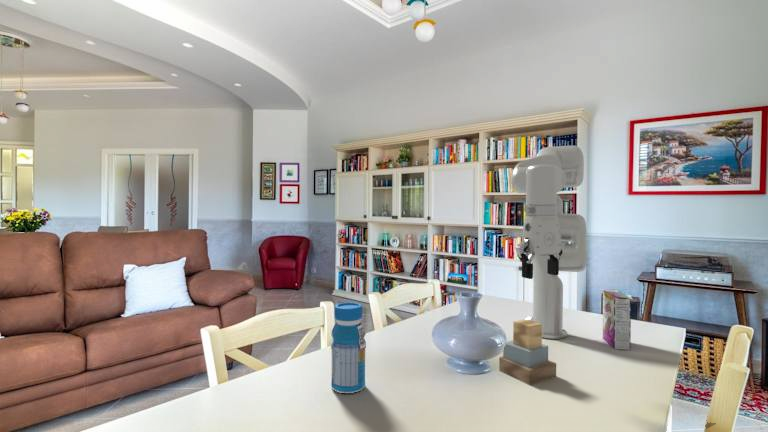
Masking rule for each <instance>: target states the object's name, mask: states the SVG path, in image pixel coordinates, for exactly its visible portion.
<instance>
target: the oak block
mask: <svg viewBox="0 0 768 432" xmlns="http://www.w3.org/2000/svg"><path fill="white" fill-rule="evenodd" d="M512 323H513V330H512V331H513V337H512V338H513V339H512V341H513V344H514V345H517V346H520V347H522V348H525V349H528V350H530V349H534V348H538V347H542V344H543V343H542V341H543V338H542V324H541V323H538V322H535V321H531V320H528V319H526V318H525V319H520V320H513V322H512Z"/></svg>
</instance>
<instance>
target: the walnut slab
mask: <svg viewBox="0 0 768 432" xmlns="http://www.w3.org/2000/svg"><path fill="white" fill-rule="evenodd" d="M498 365H499V367H498V368H499V369H498V372H501V373H503V374H505V375H507V376H510V377H511V378H513V379H515V380H518V381H519V382H522V383H524V384H527V386H531V385H534V384H537V383H541V382H543V381H547V380H550V379H553V378H556V377H557V362H554V361H553V360H550V359H548V361H547V362H544V363H541V364H538V365H535V366H532V367H529V368H528V367H526V366H523V365H520V364H518V363H515V362H513V361H510V360H507V359H505V358H503V356H500V357H499V361H498Z"/></svg>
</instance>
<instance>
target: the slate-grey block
mask: <svg viewBox="0 0 768 432" xmlns="http://www.w3.org/2000/svg"><path fill="white" fill-rule="evenodd" d="M502 353H503V354H502V355H503V356H502V357H503V358H505V359H507V360H510V361H513V362H515V363H518V364H520V365H523V366H526V367H528V368H529V367H532V366H535V365H538V364H541V363H544V362H547V361H548V360H549V345H547V344H543V343H542V347H538V348H534V349H530V350H528V349H525V348H522V347H520V346H517V345H514V344H513V340H510V341H506V345H505V347H504V350H503V352H502Z"/></svg>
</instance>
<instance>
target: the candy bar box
mask: <svg viewBox="0 0 768 432" xmlns="http://www.w3.org/2000/svg"><path fill="white" fill-rule="evenodd" d="M631 304H632V298H631V297H629V296H627V295H626V294H625V293H624V294H623V293H622V292H621V291H619V290H611V289H610V290H608V289H607V290H606V289H605V290H602V339H603V340H604V341H605V342H606V343H607V344H608V345H610V347H611V348H612V349H613V350H616V351H631V342H632V341H631V337H632V336H631V334H632V333H631V328H632V327H631V326H632V325H631V323H632V320H631V319H632V318H631V316H632V313H631V312H632V310H631V308H632V306H631Z"/></svg>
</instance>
